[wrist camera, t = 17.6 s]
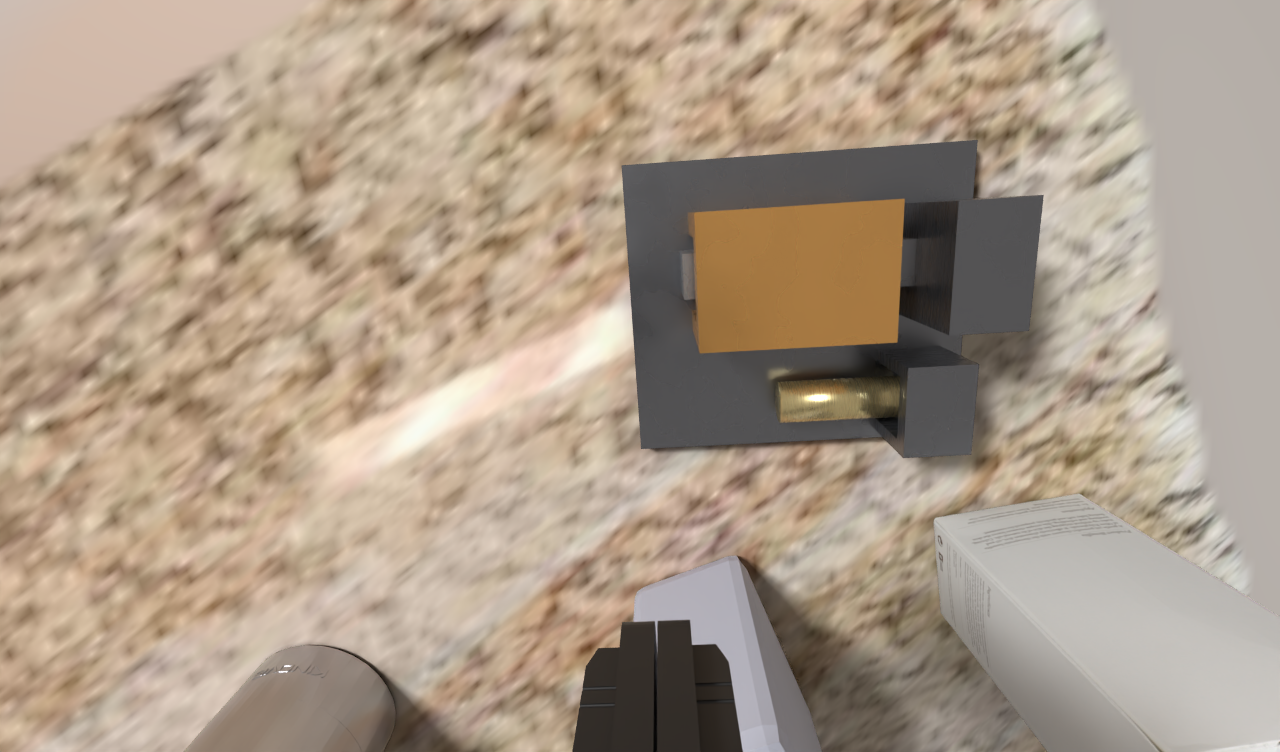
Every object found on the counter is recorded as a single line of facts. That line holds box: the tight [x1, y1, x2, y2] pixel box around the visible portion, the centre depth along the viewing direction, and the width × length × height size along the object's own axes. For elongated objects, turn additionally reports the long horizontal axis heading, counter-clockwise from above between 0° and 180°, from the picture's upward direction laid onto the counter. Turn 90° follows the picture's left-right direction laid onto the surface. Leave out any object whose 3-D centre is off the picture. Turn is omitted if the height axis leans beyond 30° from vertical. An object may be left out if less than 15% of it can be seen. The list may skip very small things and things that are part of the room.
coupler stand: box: [622, 140, 1044, 458], centre depth 26 cm, size 14×16×7 cm
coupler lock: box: [688, 199, 905, 353], centre depth 26 cm, size 6×8×5 cm
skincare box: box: [934, 494, 1280, 752], centre depth 26 cm, size 8×7×16 cm
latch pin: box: [775, 375, 900, 423], centre depth 29 cm, size 2×6×2 cm, turn 94°
